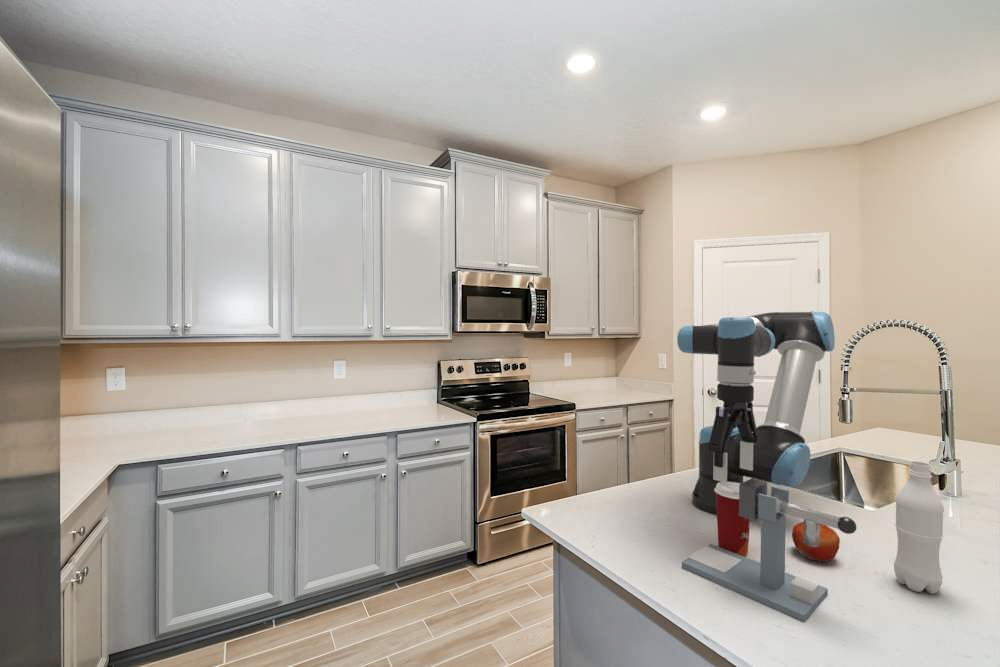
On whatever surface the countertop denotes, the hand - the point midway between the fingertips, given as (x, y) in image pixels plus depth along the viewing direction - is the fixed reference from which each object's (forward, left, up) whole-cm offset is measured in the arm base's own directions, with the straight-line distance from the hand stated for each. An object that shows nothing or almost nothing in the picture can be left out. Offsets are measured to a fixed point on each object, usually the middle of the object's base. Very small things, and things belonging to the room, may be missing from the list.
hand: (733, 474), depth 105 cm
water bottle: (+30, +14, -18) cm, 38 cm away
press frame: (+8, -10, -18) cm, 22 cm away
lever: (+16, -10, -6) cm, 20 cm away
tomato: (+13, +12, -18) cm, 25 cm away
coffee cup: (0, 0, -18) cm, 18 cm away
